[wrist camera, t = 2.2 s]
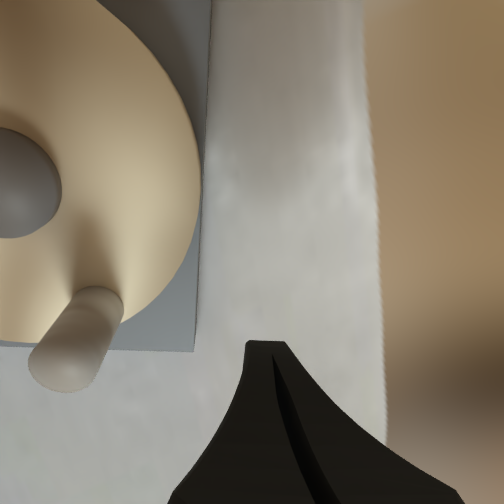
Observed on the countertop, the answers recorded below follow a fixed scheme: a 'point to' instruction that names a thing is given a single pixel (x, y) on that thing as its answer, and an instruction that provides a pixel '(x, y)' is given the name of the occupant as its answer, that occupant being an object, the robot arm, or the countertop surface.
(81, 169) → the cam dial
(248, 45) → the countertop surface
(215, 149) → the countertop surface
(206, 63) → the dial board
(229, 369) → the countertop surface
